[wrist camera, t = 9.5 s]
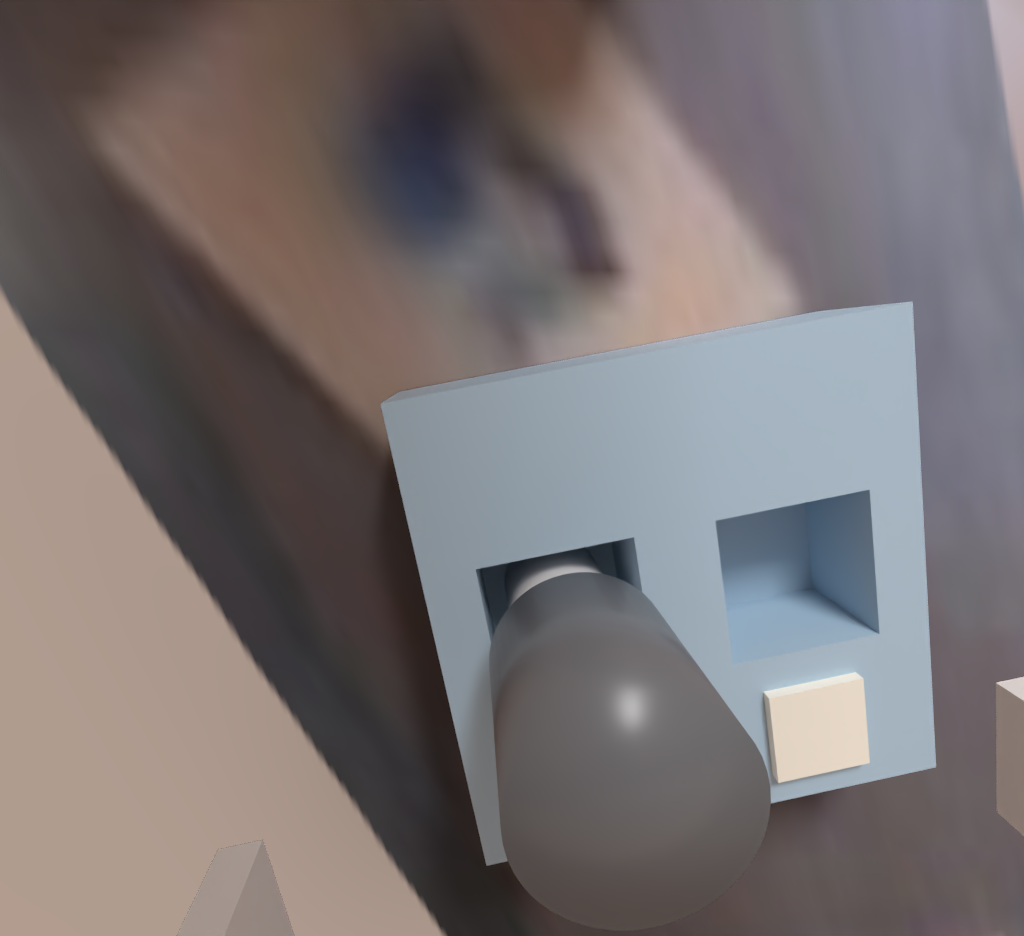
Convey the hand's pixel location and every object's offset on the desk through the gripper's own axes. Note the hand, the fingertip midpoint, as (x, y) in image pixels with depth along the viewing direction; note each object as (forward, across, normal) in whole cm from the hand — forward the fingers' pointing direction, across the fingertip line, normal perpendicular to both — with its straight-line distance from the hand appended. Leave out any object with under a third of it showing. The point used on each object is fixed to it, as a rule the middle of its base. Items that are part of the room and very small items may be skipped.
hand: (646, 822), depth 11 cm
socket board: (+14, +4, -1) cm, 14 cm away
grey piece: (+13, 0, -1) cm, 13 cm away
